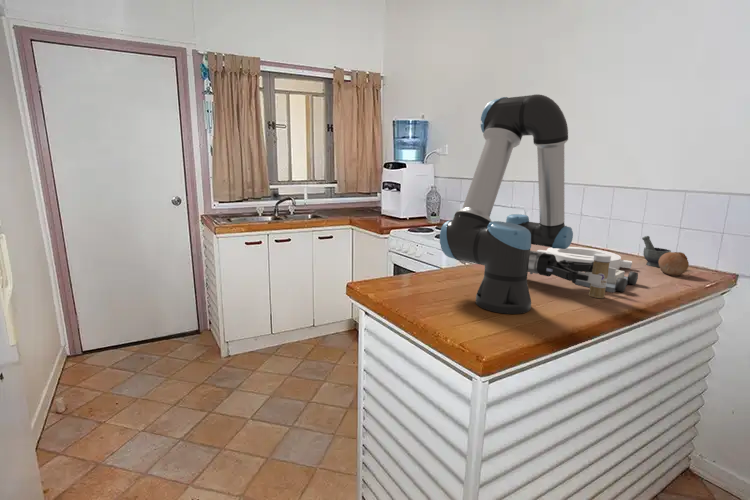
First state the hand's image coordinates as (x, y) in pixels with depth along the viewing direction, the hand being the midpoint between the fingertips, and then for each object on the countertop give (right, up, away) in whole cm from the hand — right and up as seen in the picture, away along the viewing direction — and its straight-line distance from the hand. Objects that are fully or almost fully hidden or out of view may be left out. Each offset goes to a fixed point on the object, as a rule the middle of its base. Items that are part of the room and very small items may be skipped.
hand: (608, 276), depth 127 cm
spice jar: (-2, -7, +3) cm, 8 cm away
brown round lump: (+43, -2, +33) cm, 55 cm away
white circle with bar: (+16, +2, +48) cm, 51 cm away
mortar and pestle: (+46, +2, +49) cm, 67 cm away
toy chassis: (+9, -3, +19) cm, 21 cm away
